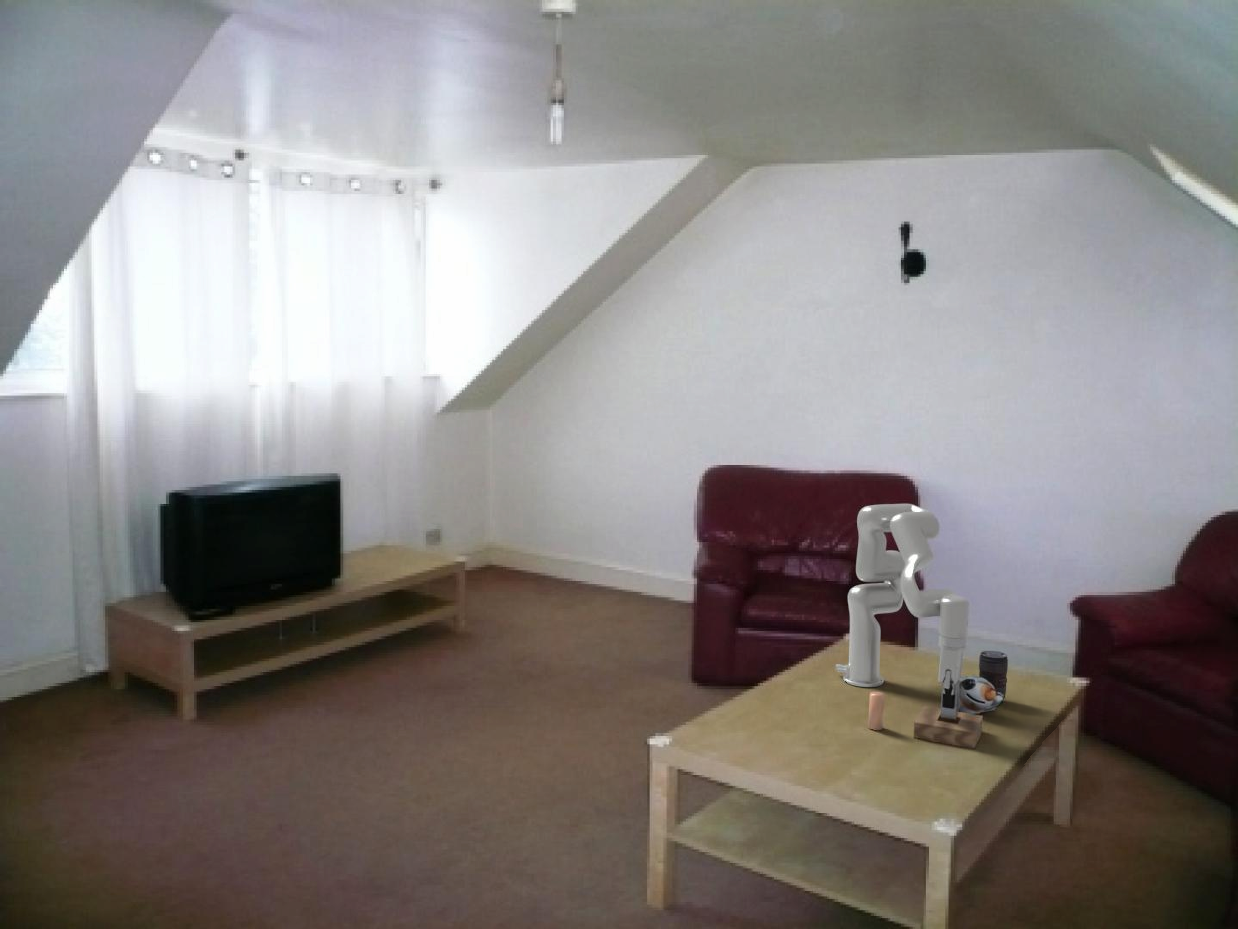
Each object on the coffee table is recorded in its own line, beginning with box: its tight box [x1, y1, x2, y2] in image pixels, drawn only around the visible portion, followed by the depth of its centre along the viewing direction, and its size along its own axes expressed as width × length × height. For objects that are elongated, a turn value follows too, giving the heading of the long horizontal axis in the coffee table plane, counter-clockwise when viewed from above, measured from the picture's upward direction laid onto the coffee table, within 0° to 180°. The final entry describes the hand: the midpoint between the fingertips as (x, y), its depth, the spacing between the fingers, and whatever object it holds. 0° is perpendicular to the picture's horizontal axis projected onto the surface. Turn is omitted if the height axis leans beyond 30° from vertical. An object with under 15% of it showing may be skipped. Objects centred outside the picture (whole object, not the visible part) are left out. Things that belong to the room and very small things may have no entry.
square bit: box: [940, 680, 960, 720], centre depth 285 cm, size 4×4×10 cm
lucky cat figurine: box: [958, 675, 1004, 715], centre depth 303 cm, size 15×12×14 cm
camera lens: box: [978, 650, 1009, 706], centre depth 311 cm, size 8×8×15 cm
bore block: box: [913, 705, 984, 749], centre depth 286 cm, size 16×14×4 cm
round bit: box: [867, 691, 886, 731], centre depth 290 cm, size 4×4×10 cm
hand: (949, 704), depth 285 cm, fingers closed on square bit, 4 cm apart
